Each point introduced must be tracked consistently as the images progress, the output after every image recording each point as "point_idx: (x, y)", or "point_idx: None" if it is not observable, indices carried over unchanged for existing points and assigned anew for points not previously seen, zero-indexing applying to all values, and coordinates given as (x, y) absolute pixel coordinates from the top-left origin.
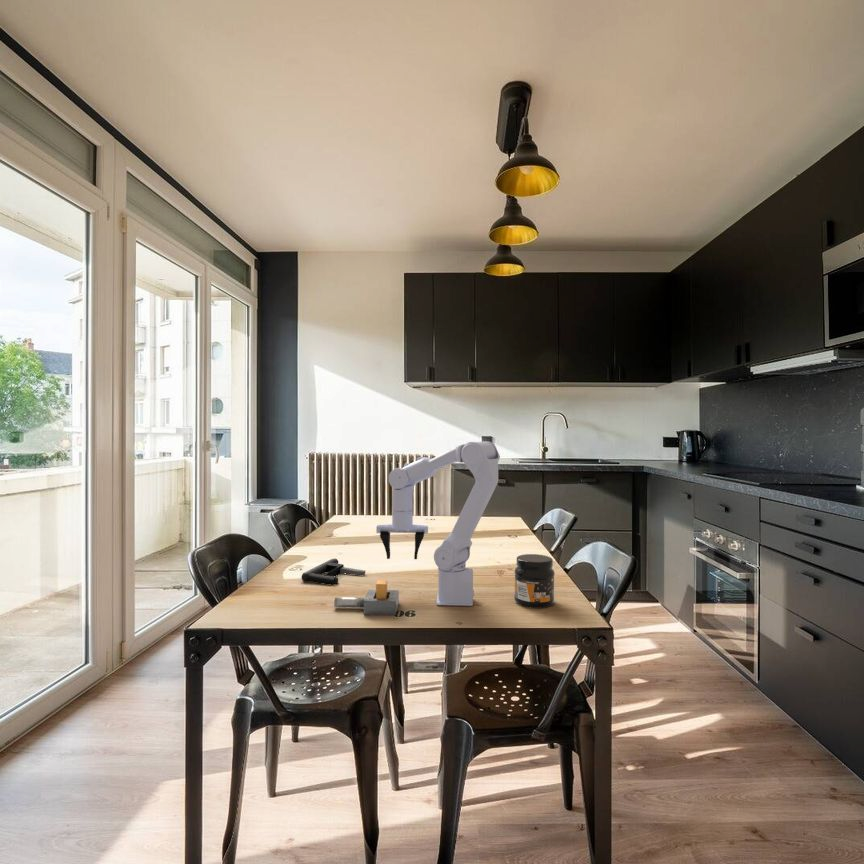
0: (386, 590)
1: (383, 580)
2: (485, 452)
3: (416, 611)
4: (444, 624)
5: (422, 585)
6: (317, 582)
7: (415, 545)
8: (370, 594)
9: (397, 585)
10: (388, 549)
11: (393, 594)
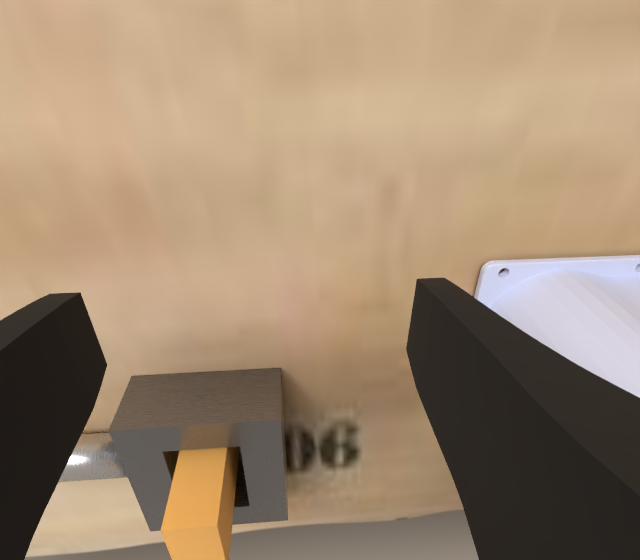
0: (227, 496)
1: (199, 537)
2: None
3: (363, 430)
4: (448, 498)
5: (418, 6)
6: None
7: (482, 544)
8: (149, 479)
9: (206, 19)
10: (46, 497)
11: (262, 467)
